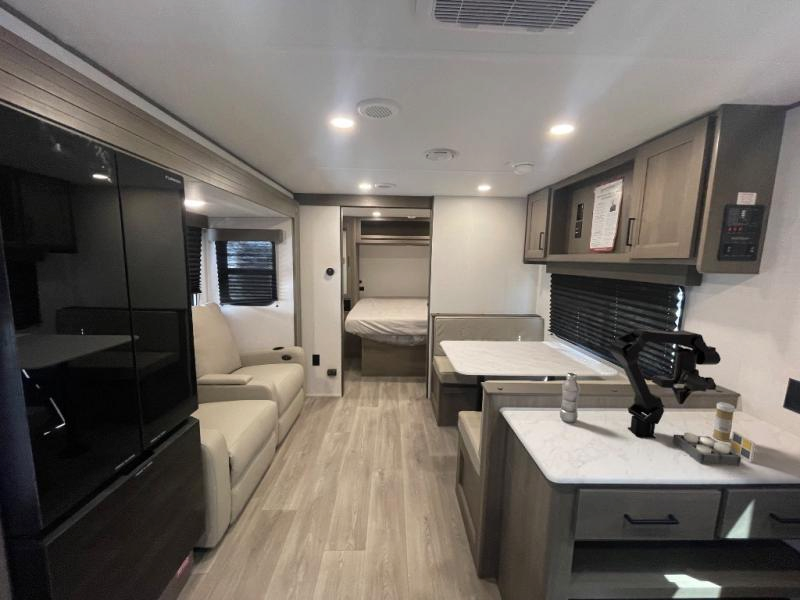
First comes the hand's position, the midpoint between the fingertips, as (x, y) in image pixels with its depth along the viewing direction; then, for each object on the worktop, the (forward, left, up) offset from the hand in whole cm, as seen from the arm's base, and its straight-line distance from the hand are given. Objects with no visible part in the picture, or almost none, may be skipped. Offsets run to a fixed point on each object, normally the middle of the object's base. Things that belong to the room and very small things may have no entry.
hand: (680, 403), depth 118 cm
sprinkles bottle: (+14, -2, -12) cm, 19 cm away
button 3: (+2, -10, -11) cm, 15 cm away
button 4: (+2, -16, -9) cm, 18 cm away
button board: (-1, -13, -12) cm, 18 cm away
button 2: (-3, -16, -11) cm, 19 cm away
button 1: (-3, -10, -9) cm, 14 cm away
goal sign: (+11, -13, -12) cm, 21 cm away
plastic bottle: (-38, +5, -12) cm, 40 cm away
